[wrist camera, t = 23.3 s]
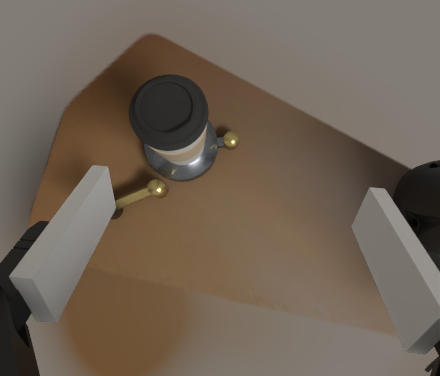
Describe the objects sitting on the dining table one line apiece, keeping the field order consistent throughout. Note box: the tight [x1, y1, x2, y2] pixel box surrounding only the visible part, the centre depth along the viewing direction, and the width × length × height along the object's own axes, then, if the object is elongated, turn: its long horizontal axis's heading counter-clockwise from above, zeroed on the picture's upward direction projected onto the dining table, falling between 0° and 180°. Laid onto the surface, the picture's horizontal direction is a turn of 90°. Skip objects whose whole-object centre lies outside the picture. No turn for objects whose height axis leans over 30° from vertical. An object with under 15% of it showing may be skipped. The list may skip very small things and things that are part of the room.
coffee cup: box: [129, 75, 208, 165], centre depth 39 cm, size 9×9×15 cm
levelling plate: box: [144, 120, 239, 182], centre depth 47 cm, size 16×12×2 cm
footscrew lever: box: [111, 179, 168, 219], centre depth 42 cm, size 11×3×10 cm, turn 113°
